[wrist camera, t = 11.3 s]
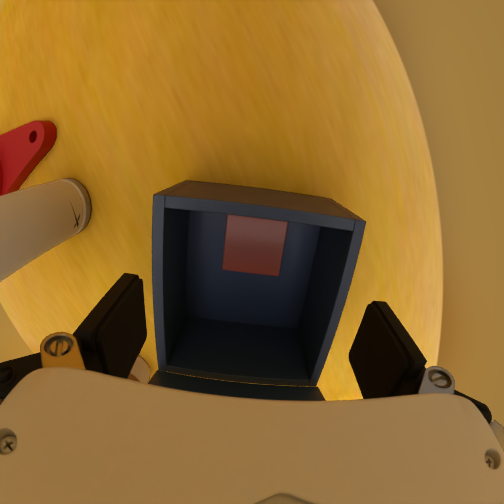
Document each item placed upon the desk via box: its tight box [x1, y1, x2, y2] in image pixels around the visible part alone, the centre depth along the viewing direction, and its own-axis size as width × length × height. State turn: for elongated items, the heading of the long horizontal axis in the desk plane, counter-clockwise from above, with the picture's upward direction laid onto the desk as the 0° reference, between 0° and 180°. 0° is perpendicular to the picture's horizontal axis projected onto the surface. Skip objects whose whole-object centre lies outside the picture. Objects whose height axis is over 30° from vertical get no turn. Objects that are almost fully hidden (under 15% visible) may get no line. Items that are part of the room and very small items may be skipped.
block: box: [222, 214, 288, 276], centre depth 23 cm, size 4×4×4 cm
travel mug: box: [0, 178, 91, 282], centre depth 16 cm, size 6×7×20 cm
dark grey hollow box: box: [152, 180, 366, 386], centre depth 23 cm, size 15×14×9 cm
